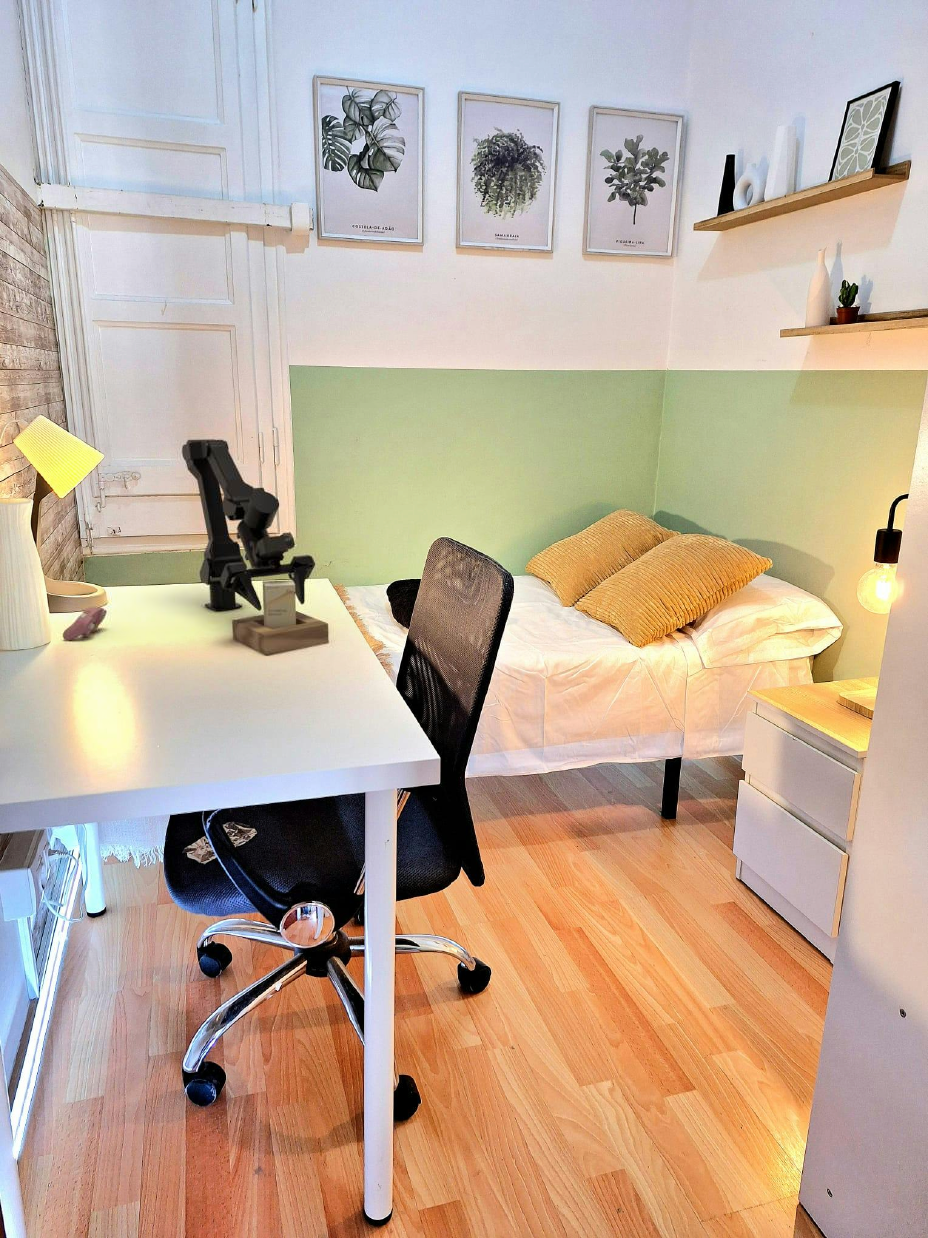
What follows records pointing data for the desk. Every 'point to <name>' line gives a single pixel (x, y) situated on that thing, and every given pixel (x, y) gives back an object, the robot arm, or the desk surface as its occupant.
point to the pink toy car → (85, 623)
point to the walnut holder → (280, 634)
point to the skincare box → (279, 604)
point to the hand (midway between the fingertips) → (282, 606)
